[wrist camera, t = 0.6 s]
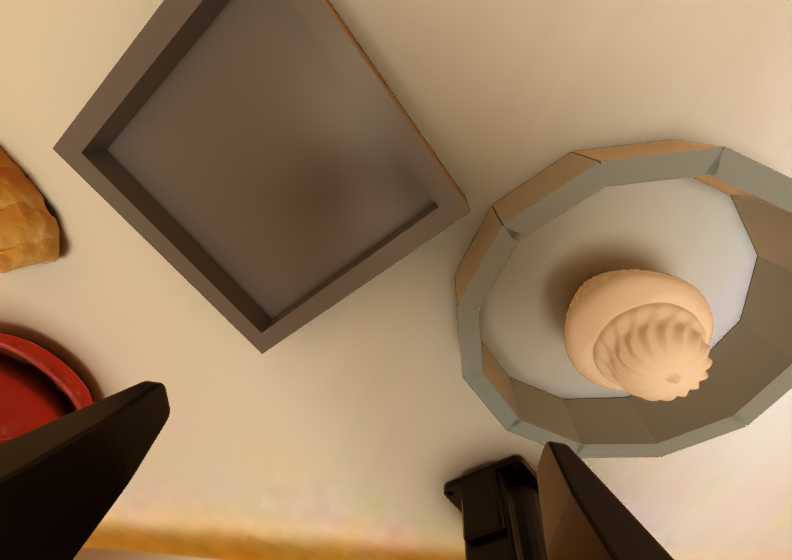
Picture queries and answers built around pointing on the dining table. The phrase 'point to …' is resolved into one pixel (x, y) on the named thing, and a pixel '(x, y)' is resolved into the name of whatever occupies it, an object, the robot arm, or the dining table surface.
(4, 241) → the pastry
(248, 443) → the dining table surface
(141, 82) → the tray
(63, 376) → the plant pot
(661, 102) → the dining table surface
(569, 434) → the grey polygonal ring
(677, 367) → the muffin
